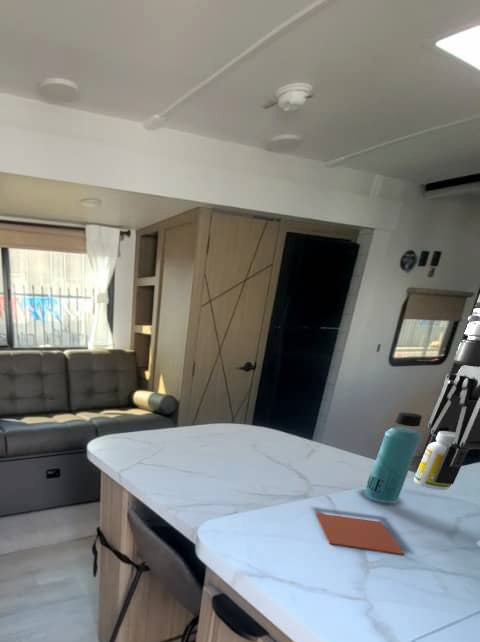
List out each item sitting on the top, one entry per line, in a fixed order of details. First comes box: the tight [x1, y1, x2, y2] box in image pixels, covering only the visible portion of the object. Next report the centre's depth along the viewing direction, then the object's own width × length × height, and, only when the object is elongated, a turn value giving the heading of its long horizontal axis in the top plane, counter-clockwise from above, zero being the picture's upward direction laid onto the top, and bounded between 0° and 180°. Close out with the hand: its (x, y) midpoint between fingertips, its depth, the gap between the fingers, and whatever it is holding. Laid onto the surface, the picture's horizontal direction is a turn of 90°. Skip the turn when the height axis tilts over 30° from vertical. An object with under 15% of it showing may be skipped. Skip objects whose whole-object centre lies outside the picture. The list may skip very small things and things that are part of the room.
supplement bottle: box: [413, 431, 456, 491], centre depth 72 cm, size 5×5×10 cm
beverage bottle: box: [365, 411, 423, 503], centre depth 86 cm, size 6×7×20 cm
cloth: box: [315, 512, 405, 556], centre depth 78 cm, size 12×12×1 cm
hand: (434, 475), depth 73 cm, fingers closed on supplement bottle, 5 cm apart
